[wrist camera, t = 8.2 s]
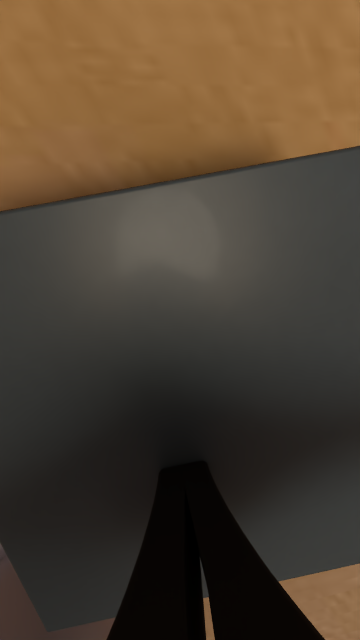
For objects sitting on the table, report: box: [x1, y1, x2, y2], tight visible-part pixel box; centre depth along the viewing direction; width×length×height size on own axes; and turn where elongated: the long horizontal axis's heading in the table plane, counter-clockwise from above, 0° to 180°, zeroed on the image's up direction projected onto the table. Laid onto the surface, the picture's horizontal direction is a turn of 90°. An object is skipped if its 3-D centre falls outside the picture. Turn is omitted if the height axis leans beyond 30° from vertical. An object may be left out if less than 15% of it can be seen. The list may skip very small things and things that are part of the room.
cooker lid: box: [0, 146, 360, 632], centre depth 9 cm, size 13×12×1 cm
